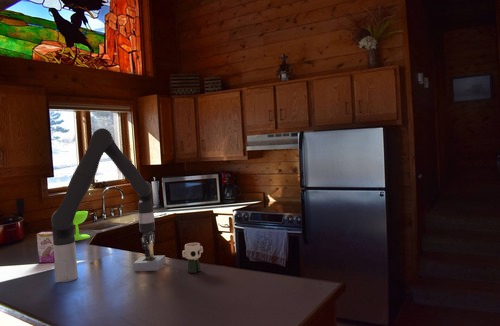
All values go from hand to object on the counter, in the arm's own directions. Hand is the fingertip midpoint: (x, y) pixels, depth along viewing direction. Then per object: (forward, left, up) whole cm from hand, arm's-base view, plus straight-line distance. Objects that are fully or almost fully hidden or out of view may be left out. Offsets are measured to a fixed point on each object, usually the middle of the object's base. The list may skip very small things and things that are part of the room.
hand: (149, 255), depth 198 cm
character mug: (-10, -25, -6) cm, 28 cm away
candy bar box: (+17, +64, -6) cm, 67 cm away
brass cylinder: (0, 0, -3) cm, 3 cm away
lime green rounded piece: (+76, +81, -6) cm, 111 cm away
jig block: (0, 0, -6) cm, 6 cm away
